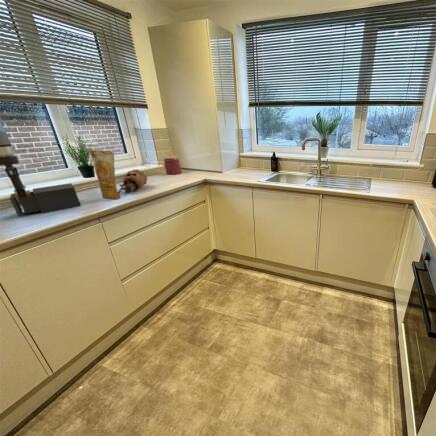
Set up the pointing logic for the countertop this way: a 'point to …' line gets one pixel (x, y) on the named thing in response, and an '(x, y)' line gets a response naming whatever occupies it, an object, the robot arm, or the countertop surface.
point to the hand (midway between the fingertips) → (26, 202)
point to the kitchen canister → (172, 165)
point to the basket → (23, 204)
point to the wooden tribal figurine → (133, 181)
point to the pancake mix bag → (105, 172)
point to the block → (18, 196)
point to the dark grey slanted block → (56, 198)
